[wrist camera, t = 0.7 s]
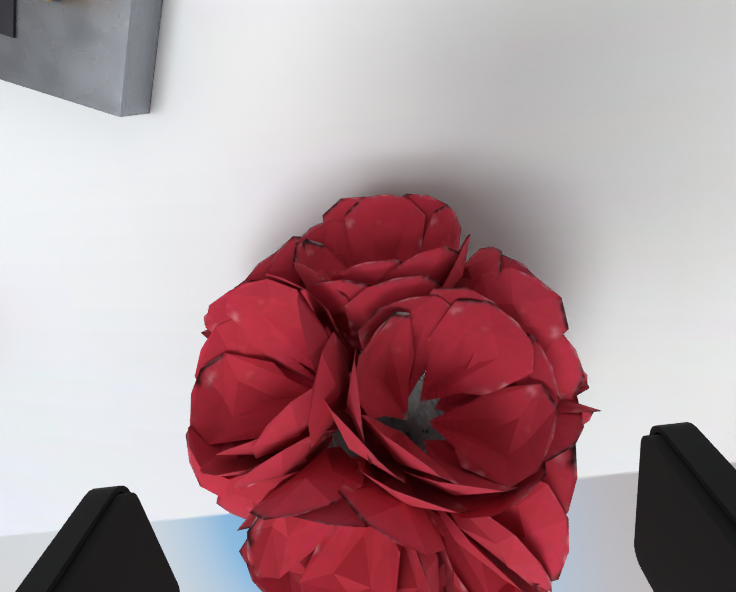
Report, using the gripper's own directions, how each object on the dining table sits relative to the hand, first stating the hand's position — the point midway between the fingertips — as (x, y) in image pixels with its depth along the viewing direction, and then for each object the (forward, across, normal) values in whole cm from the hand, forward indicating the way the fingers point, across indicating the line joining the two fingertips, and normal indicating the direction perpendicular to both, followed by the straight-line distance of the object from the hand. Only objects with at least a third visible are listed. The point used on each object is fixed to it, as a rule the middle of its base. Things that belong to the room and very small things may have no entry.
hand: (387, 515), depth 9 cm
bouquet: (+28, +2, +13) cm, 31 cm away
